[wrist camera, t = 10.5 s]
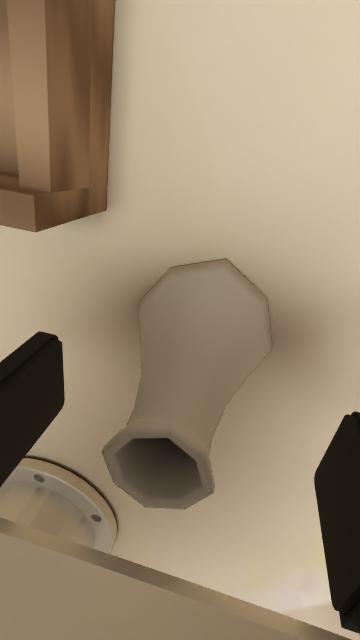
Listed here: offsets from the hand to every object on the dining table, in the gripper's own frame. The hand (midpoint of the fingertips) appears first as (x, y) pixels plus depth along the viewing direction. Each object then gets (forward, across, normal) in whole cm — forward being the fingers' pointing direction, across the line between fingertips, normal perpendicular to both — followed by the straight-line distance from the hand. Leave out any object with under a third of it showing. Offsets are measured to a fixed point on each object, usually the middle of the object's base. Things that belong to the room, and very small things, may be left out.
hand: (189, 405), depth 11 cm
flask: (+8, +1, +1) cm, 8 cm away
